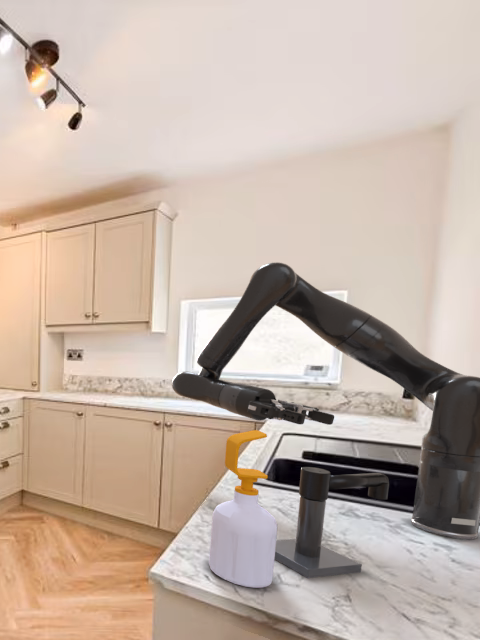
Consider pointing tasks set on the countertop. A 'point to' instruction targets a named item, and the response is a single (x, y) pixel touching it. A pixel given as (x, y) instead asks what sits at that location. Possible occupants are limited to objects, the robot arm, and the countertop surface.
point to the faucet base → (314, 564)
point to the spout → (340, 483)
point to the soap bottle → (243, 526)
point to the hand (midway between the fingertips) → (318, 420)
